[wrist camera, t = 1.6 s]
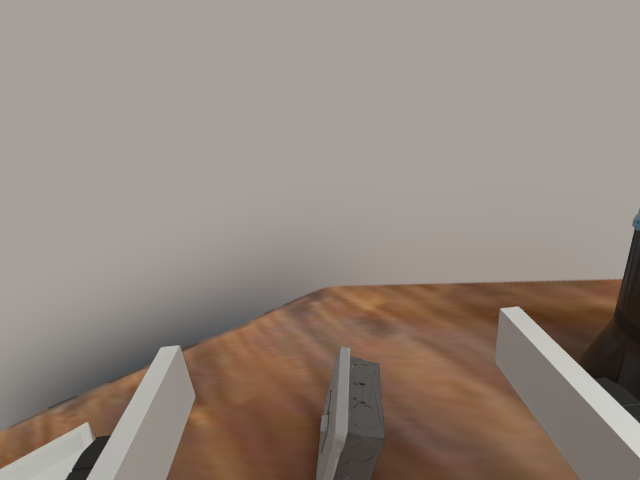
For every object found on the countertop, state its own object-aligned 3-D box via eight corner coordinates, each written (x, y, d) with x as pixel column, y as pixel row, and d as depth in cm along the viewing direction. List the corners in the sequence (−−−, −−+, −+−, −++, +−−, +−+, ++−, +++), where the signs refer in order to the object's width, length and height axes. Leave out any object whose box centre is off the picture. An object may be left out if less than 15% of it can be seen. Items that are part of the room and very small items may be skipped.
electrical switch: (323, 415, 37) (322, 341, 33) (374, 419, 36) (379, 344, 32) (312, 516, 28) (309, 432, 24) (379, 522, 27) (386, 437, 24)
